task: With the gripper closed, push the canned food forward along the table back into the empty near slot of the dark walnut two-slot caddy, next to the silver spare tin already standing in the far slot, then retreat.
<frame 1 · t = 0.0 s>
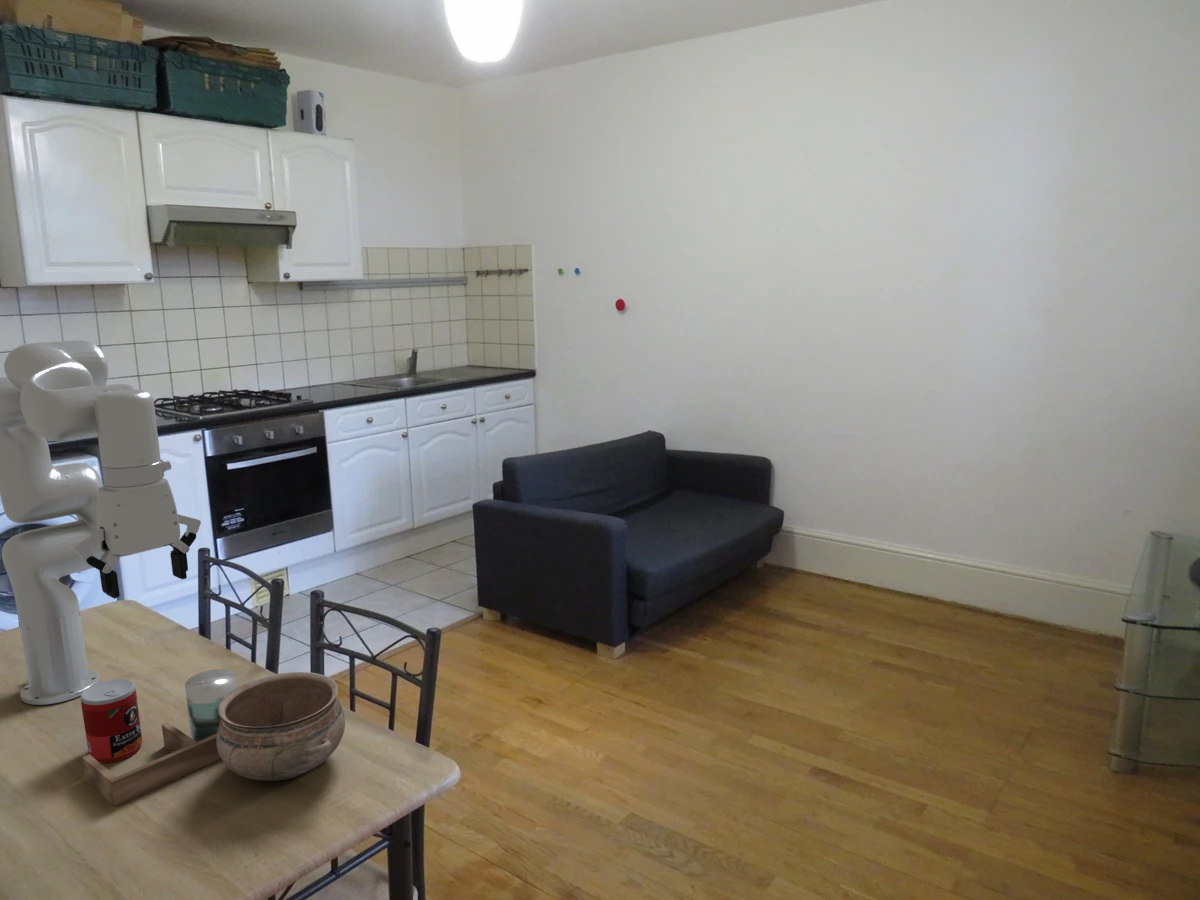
hand: (147, 586, 125), 31 cm above the table, fingers open, 9 cm apart
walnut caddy: (183, 756, 136), on the table
cooking pot: (286, 769, 132), on the table
canned food: (116, 751, 138), on the table
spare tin: (217, 739, 141), on the table
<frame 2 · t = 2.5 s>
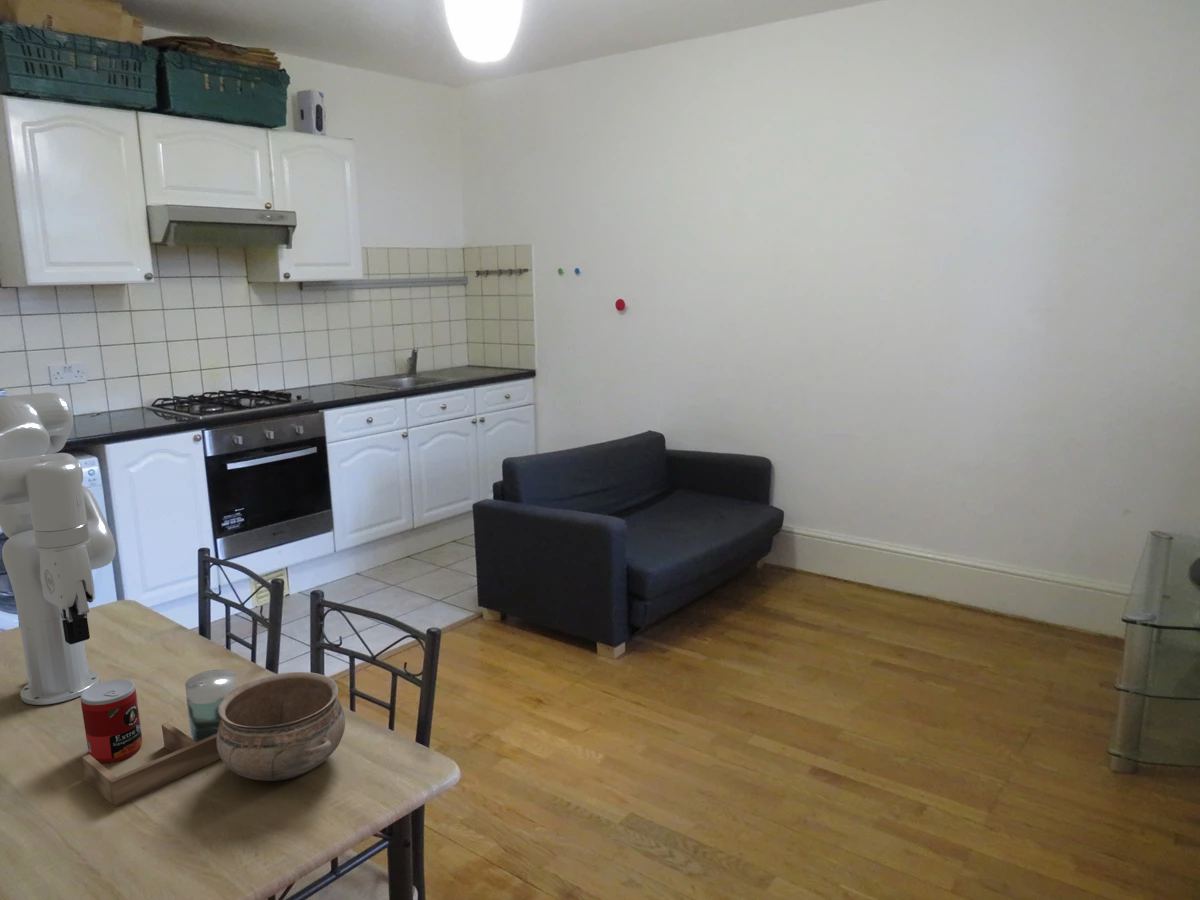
hand: (77, 640, 141), 17 cm above the table, fingers closed
nothing on the table moved.
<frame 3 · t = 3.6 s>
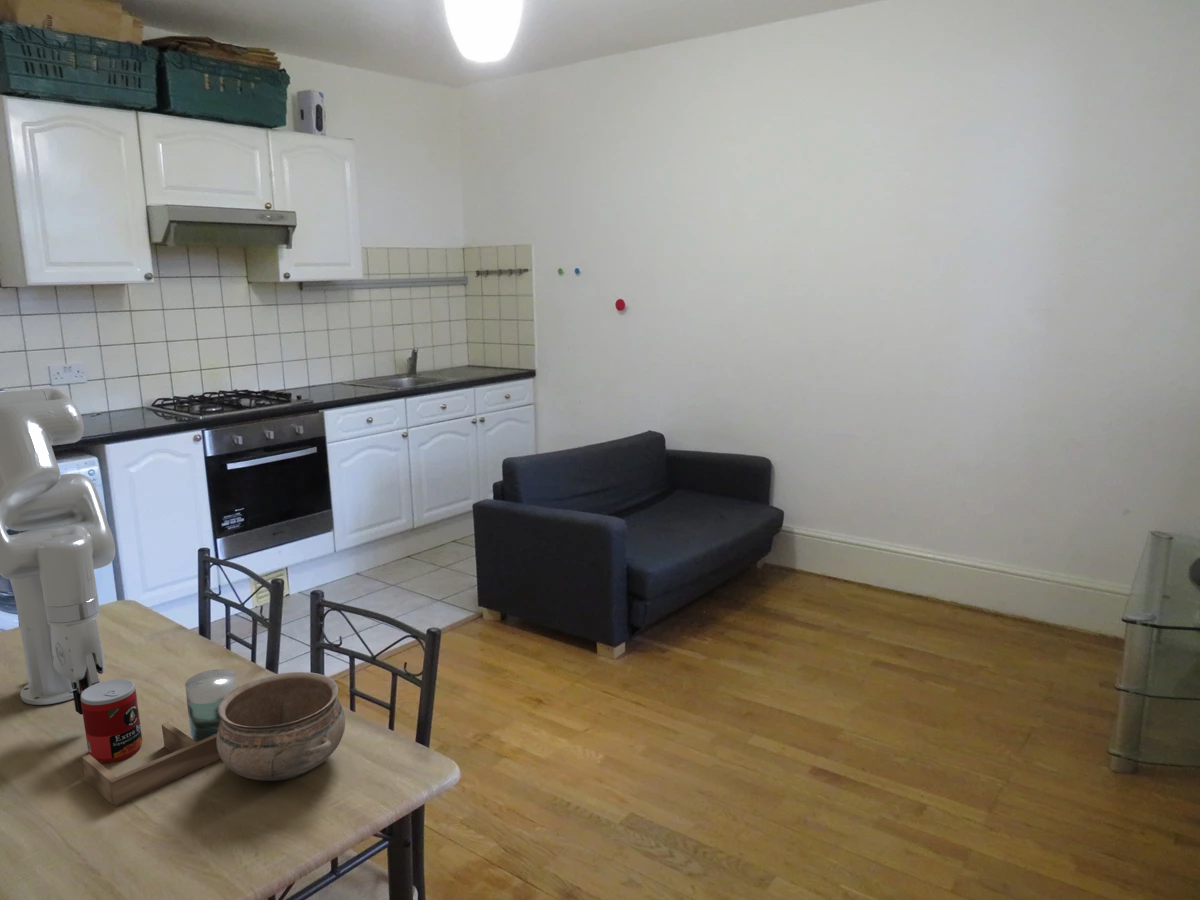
hand: (88, 709, 143), 4 cm above the table, fingers closed
nothing on the table moved.
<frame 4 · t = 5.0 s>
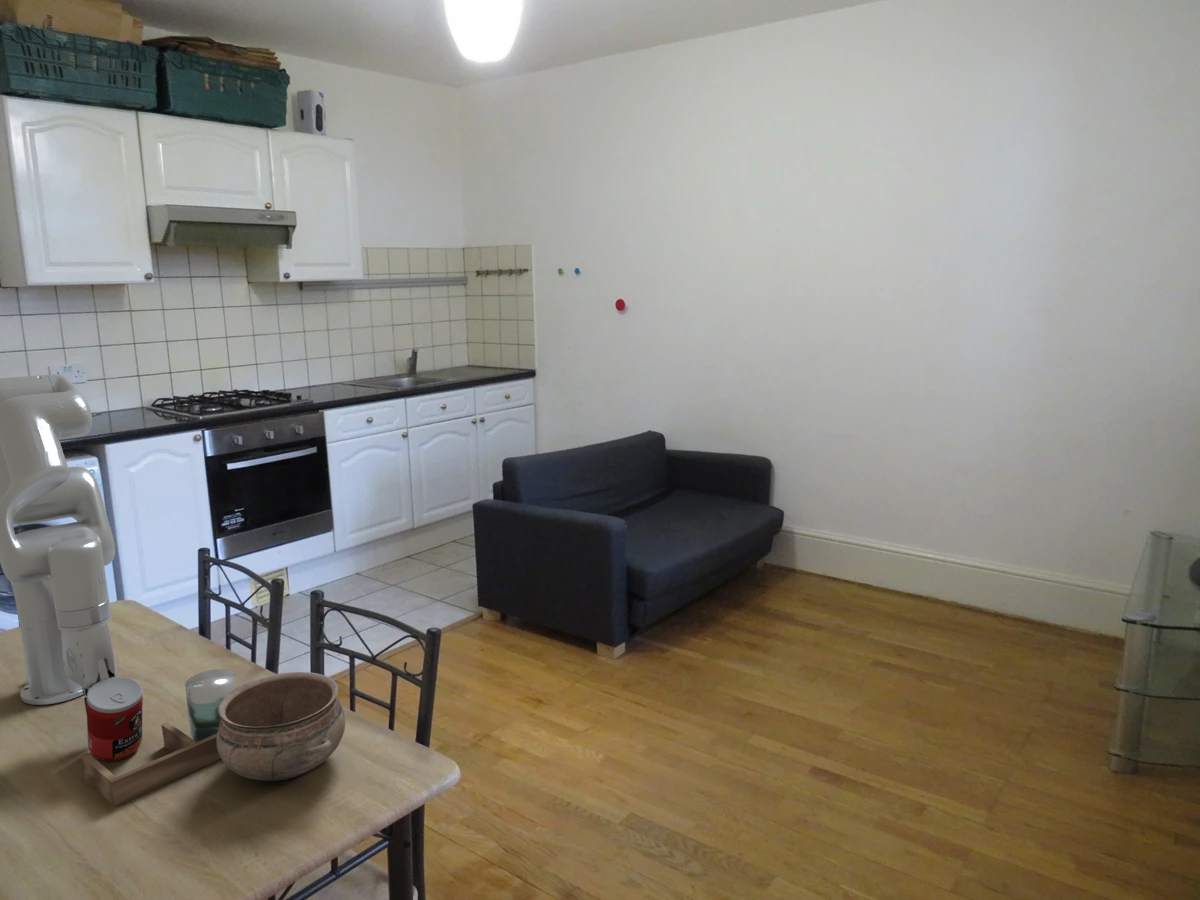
hand: (99, 717, 140), 4 cm above the table, fingers closed
canned food: (115, 745, 138), point 1 cm above the table
everything else where it was.
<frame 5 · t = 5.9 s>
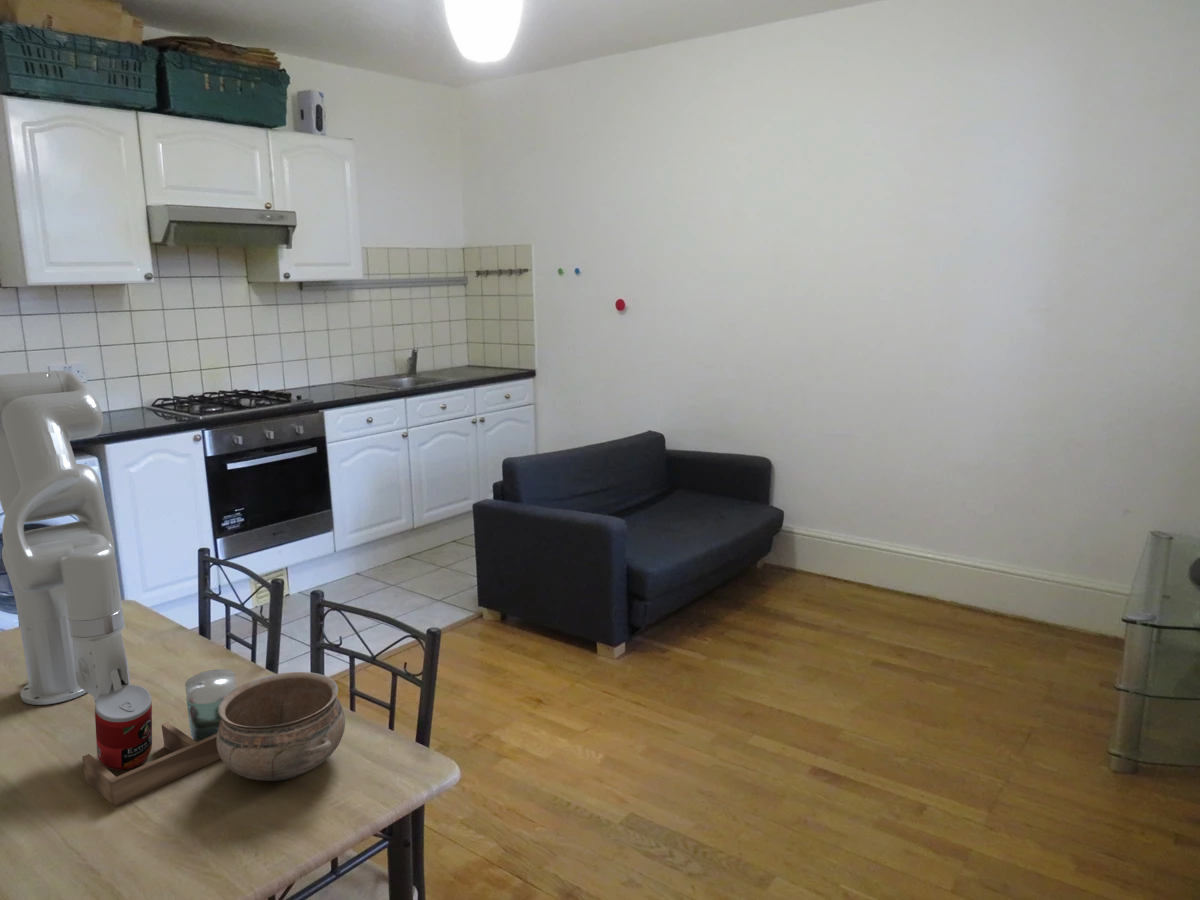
hand: (112, 727, 137), 4 cm above the table, fingers closed
canned food: (125, 753, 135), point 1 cm above the table, touching gripper
everything else where it was.
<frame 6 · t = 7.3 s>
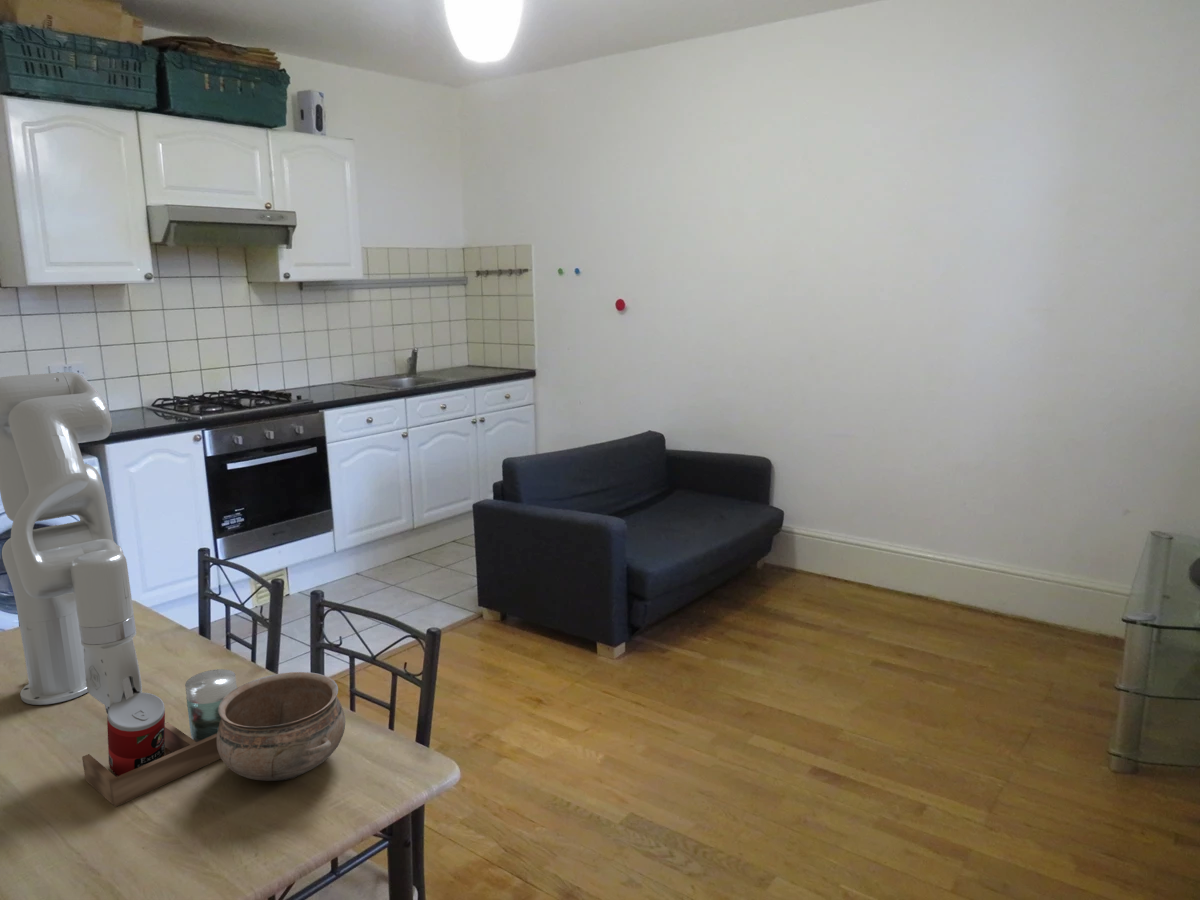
hand: (123, 736, 135), 4 cm above the table, fingers closed
canned food: (137, 763, 132), point 1 cm above the table, touching gripper
everything else where it was.
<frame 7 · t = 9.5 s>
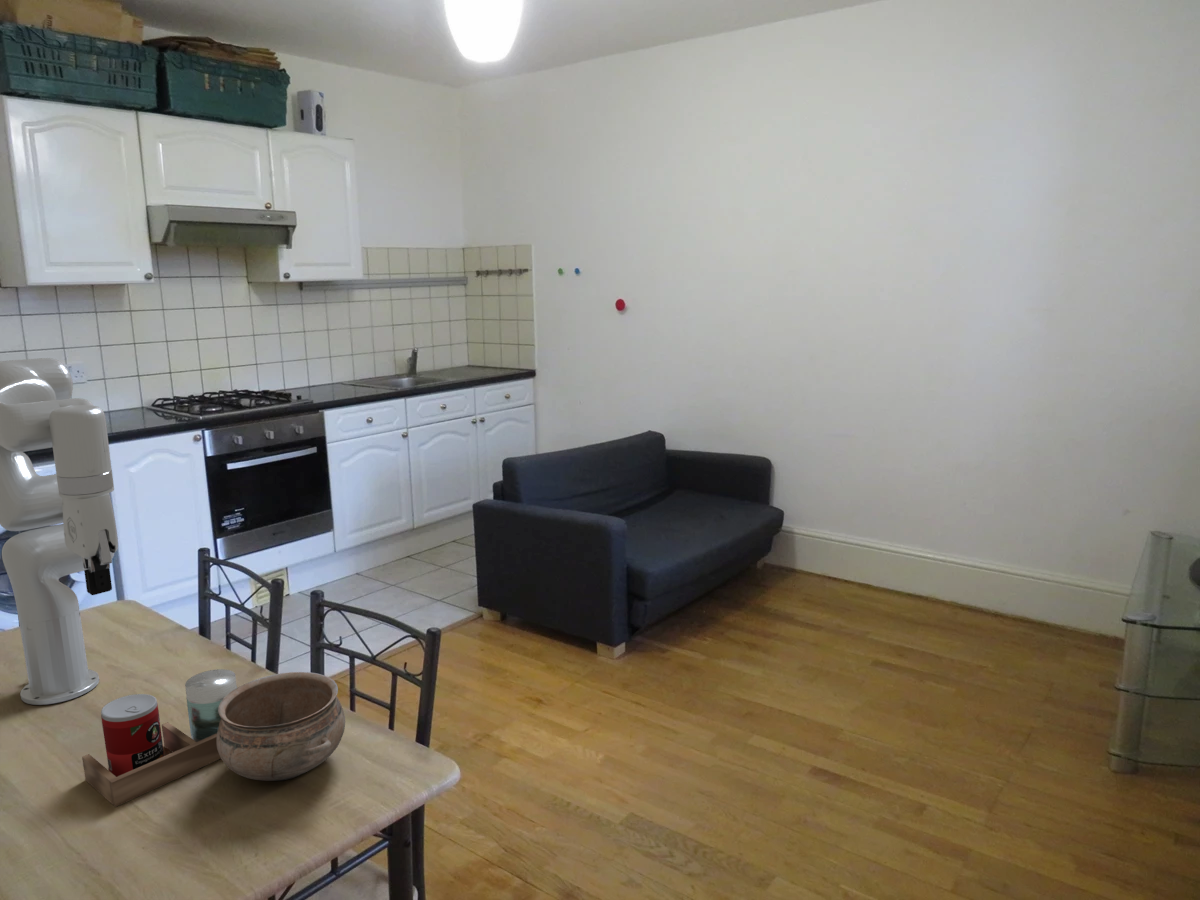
hand: (99, 591, 137), 26 cm above the table, fingers closed
canned food: (137, 769, 133), on the table
everything else where it was.
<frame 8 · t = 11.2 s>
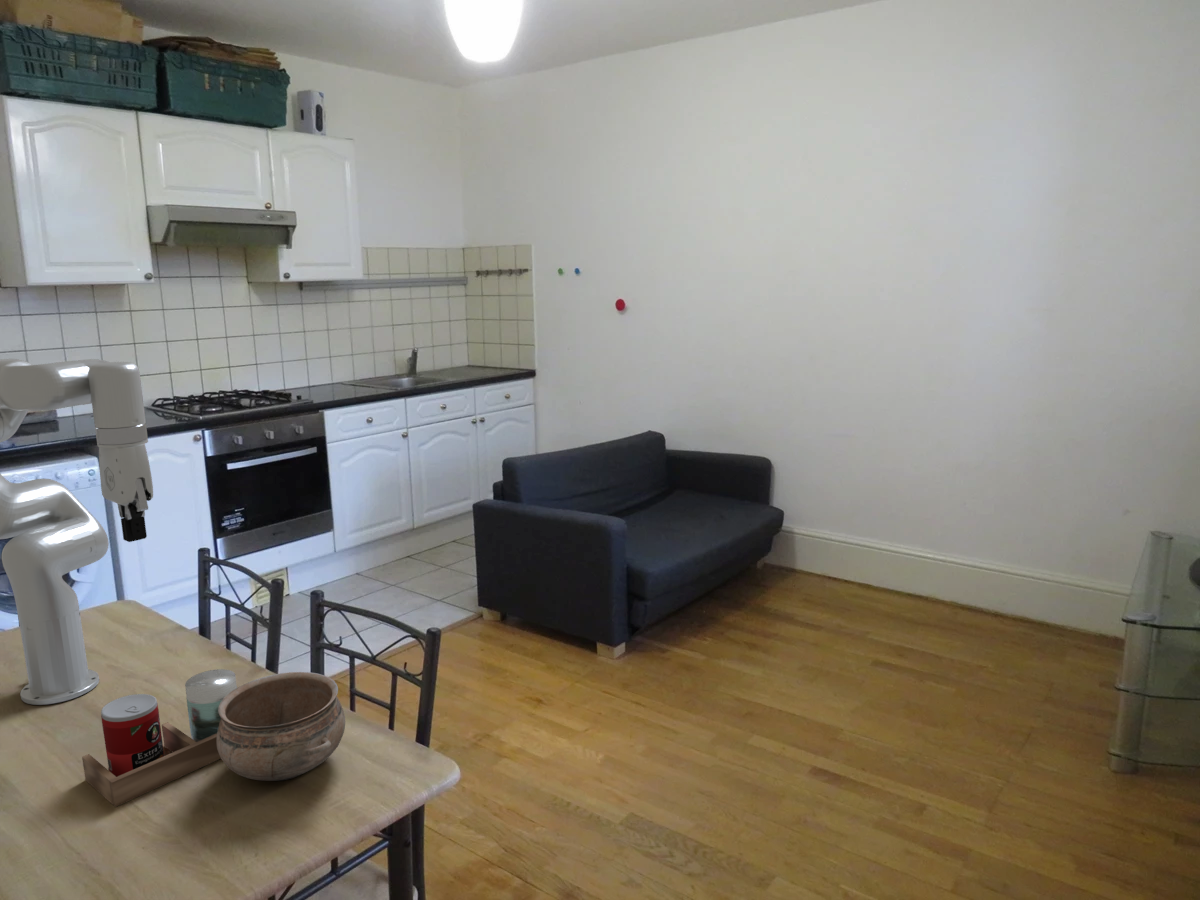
hand: (135, 539, 145), 32 cm above the table, fingers closed
nothing on the table moved.
at the end: canned food inside the target area (2.3 cm from its centre), on the table; canned food tilted 0°; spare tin moved 0.0 cm from its start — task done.
